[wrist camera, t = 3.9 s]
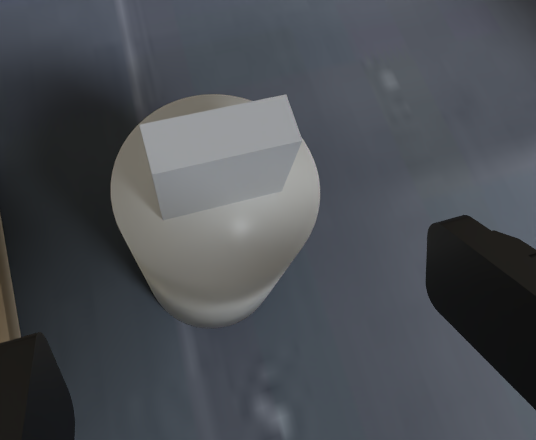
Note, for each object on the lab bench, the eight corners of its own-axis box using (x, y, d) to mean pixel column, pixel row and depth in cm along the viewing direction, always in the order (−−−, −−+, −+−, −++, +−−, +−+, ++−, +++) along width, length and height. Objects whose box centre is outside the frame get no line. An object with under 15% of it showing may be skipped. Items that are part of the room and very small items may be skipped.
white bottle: (254, 191, 20) (304, 5, 10) (290, 307, 19) (387, 222, 9) (134, 221, 19) (62, 46, 9) (164, 344, 18) (118, 294, 8)
